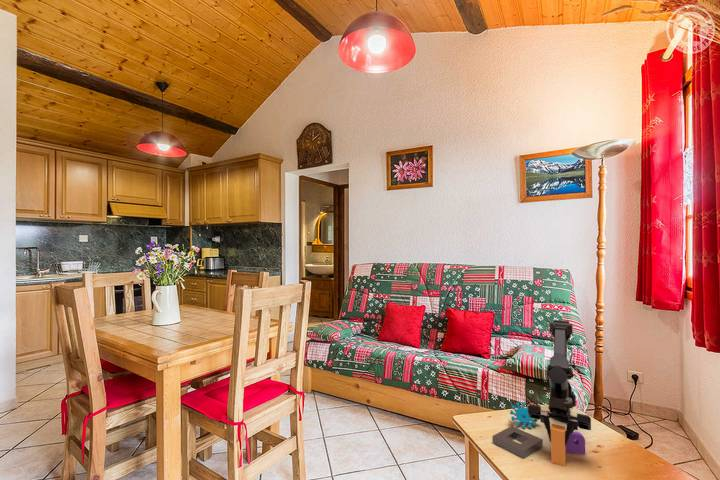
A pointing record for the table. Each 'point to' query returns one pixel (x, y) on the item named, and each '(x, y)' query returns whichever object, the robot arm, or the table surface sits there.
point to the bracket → (576, 444)
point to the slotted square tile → (521, 450)
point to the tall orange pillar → (558, 444)
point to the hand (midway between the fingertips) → (557, 443)
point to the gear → (522, 415)
